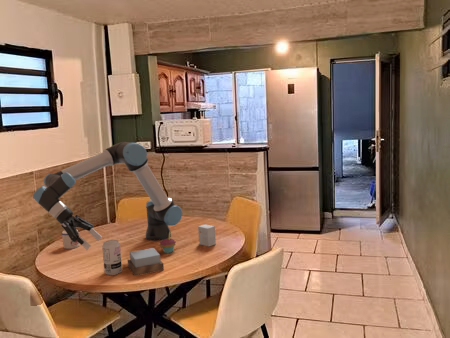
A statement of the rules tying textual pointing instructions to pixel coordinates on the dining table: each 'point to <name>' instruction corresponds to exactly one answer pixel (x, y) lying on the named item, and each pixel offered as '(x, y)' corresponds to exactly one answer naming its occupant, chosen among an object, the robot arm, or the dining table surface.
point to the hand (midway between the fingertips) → (94, 243)
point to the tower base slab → (145, 268)
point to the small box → (206, 235)
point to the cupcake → (167, 244)
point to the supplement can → (112, 257)
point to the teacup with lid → (68, 241)
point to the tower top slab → (145, 257)
